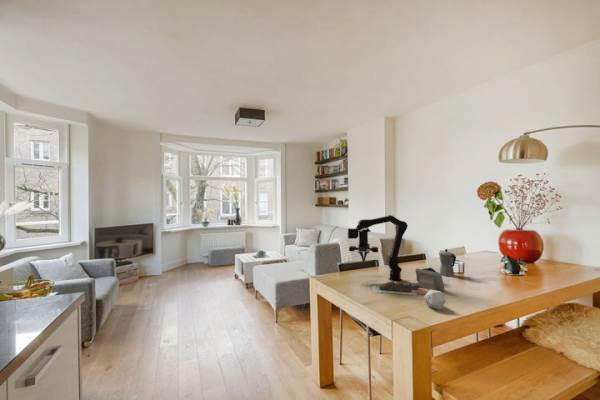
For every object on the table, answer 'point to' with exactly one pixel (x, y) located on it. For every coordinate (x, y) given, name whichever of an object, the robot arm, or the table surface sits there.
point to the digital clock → (429, 280)
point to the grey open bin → (429, 270)
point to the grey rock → (434, 299)
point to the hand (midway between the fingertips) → (363, 261)
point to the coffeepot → (447, 263)
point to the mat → (391, 291)
